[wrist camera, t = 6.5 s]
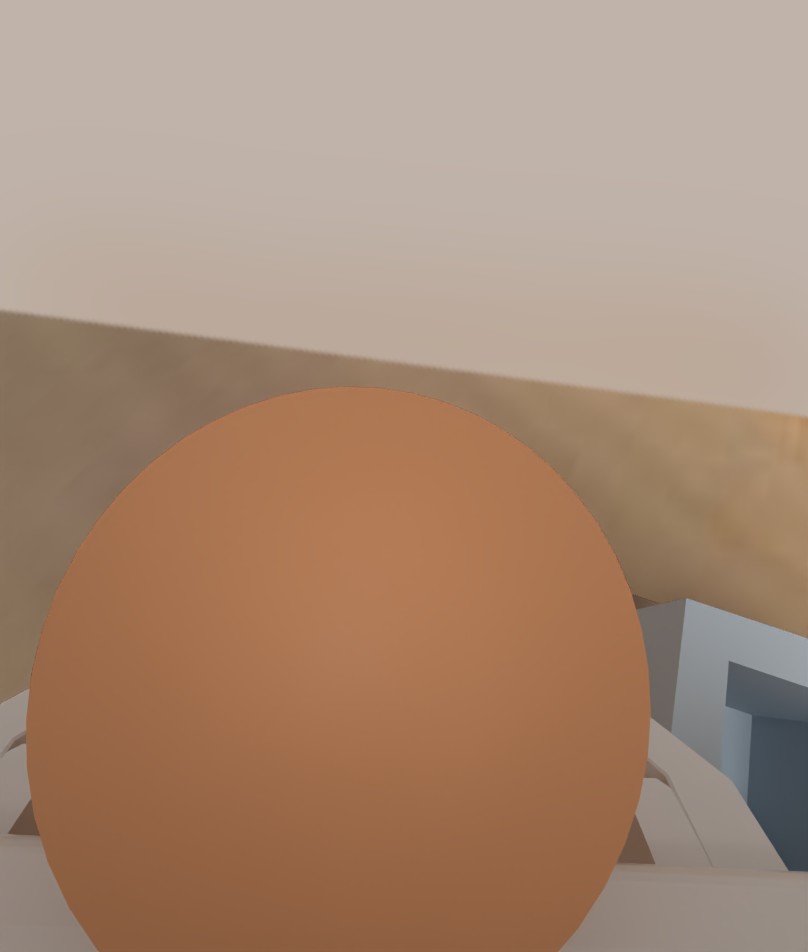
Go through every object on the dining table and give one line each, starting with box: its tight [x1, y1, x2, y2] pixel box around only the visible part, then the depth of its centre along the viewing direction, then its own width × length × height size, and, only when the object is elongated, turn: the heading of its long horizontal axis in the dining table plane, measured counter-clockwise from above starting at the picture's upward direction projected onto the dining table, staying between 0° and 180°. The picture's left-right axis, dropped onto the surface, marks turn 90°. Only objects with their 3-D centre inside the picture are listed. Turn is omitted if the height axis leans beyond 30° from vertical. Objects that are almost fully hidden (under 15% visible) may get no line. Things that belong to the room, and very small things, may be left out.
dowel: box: [26, 387, 651, 952], centre depth 10 cm, size 4×4×14 cm
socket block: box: [636, 598, 808, 872], centre depth 15 cm, size 8×8×8 cm
